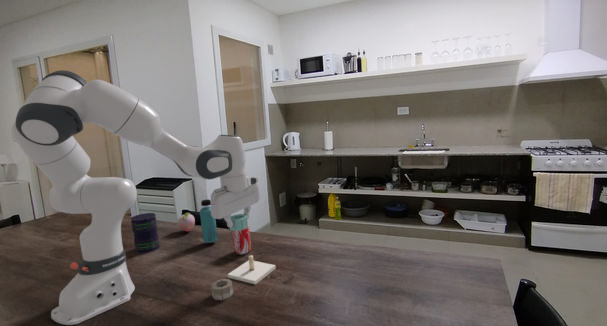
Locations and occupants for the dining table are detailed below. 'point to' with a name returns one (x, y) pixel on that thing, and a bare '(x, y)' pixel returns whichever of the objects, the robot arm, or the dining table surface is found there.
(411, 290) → the dining table surface
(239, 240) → the soda can
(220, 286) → the grey ring
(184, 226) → the decorative fruit
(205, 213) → the beverage bottle
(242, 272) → the post stand
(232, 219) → the teal ring
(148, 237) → the storage jar
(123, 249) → the robot arm
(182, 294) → the dining table surface
